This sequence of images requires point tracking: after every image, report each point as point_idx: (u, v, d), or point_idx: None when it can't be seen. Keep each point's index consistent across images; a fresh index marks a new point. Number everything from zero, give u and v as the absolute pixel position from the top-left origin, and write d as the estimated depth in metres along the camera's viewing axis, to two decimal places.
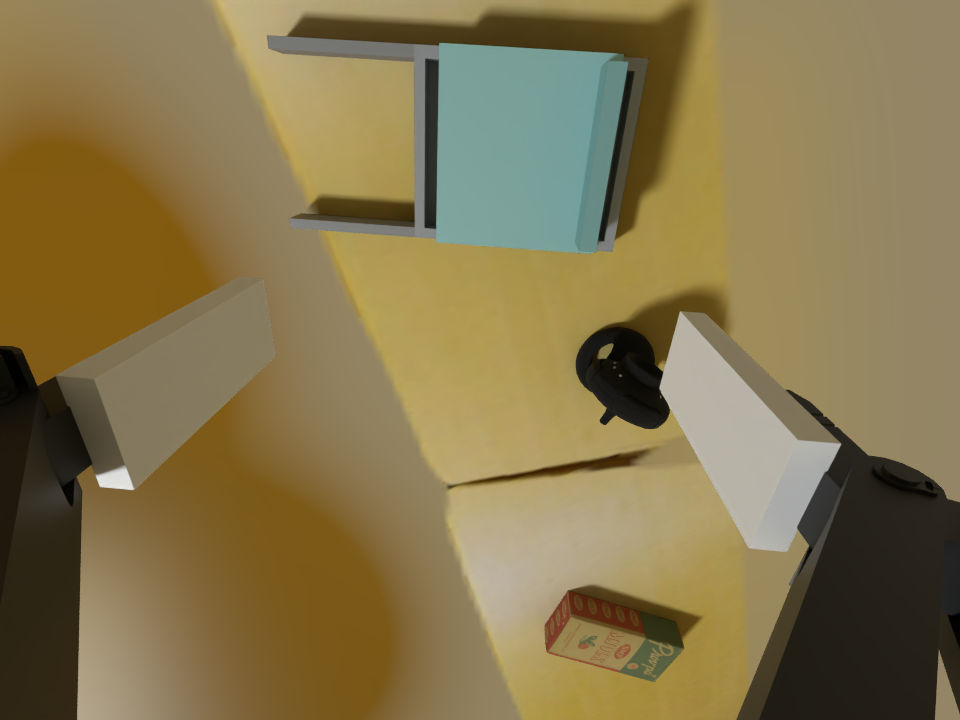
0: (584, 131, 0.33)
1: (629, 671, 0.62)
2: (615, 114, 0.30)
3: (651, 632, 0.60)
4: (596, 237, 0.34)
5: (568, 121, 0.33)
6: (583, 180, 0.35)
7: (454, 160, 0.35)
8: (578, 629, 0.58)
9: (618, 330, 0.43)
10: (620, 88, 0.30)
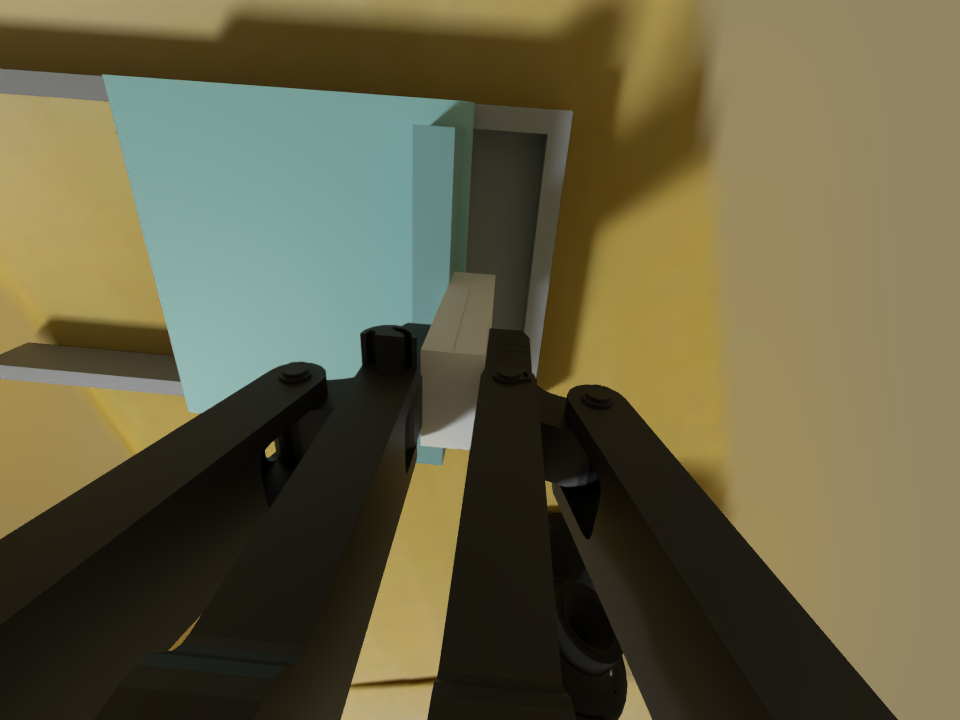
0: None
1: None
2: (442, 233, 0.14)
3: None
4: None
5: (382, 225, 0.17)
6: None
7: (186, 286, 0.19)
8: None
9: (552, 522, 0.27)
10: (445, 182, 0.14)
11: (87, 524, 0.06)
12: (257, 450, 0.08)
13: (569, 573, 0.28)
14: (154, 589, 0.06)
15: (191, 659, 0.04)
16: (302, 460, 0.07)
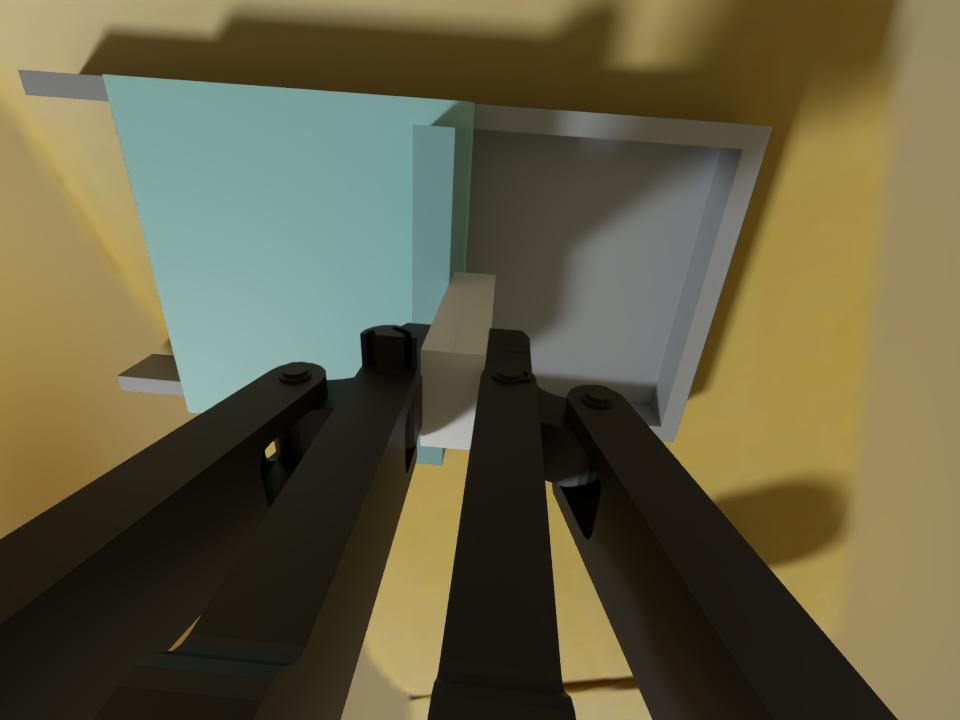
0: None
1: None
2: (442, 233, 0.14)
3: None
4: None
5: (382, 225, 0.17)
6: None
7: (186, 286, 0.19)
8: None
9: None
10: (445, 182, 0.14)
11: (88, 524, 0.06)
12: (257, 450, 0.08)
13: None
14: (154, 589, 0.06)
15: (192, 660, 0.04)
16: (301, 460, 0.07)
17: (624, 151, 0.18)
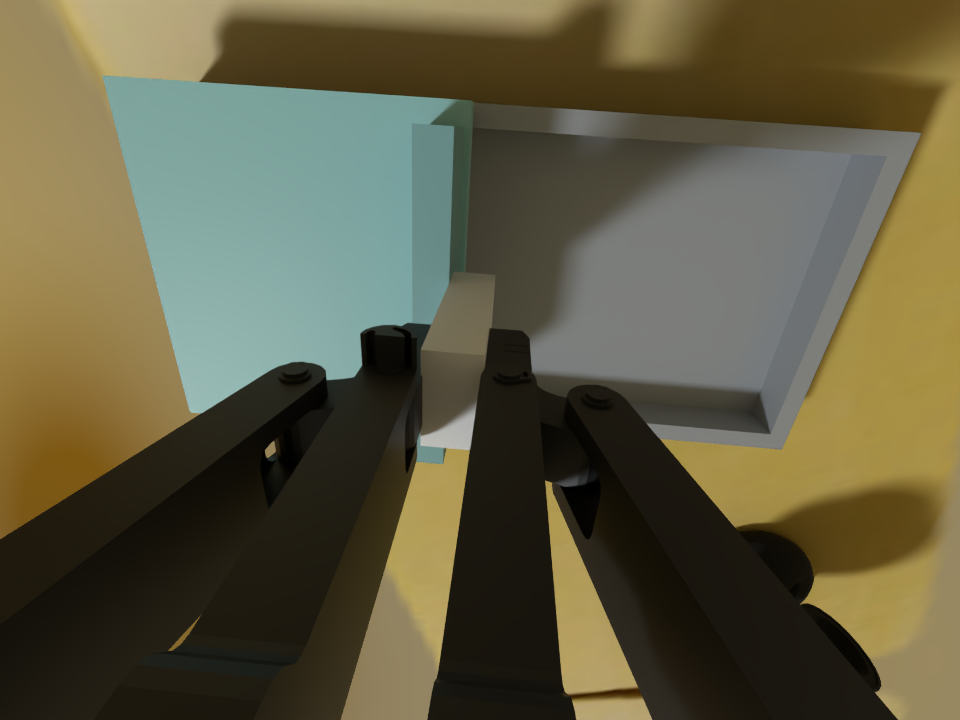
0: None
1: None
2: (442, 231, 0.14)
3: None
4: None
5: (381, 224, 0.17)
6: None
7: (187, 287, 0.19)
8: None
9: (761, 541, 0.27)
10: (445, 180, 0.14)
11: (88, 523, 0.06)
12: (257, 450, 0.08)
13: None
14: (154, 589, 0.06)
15: (192, 659, 0.04)
16: (302, 460, 0.07)
17: (752, 158, 0.18)
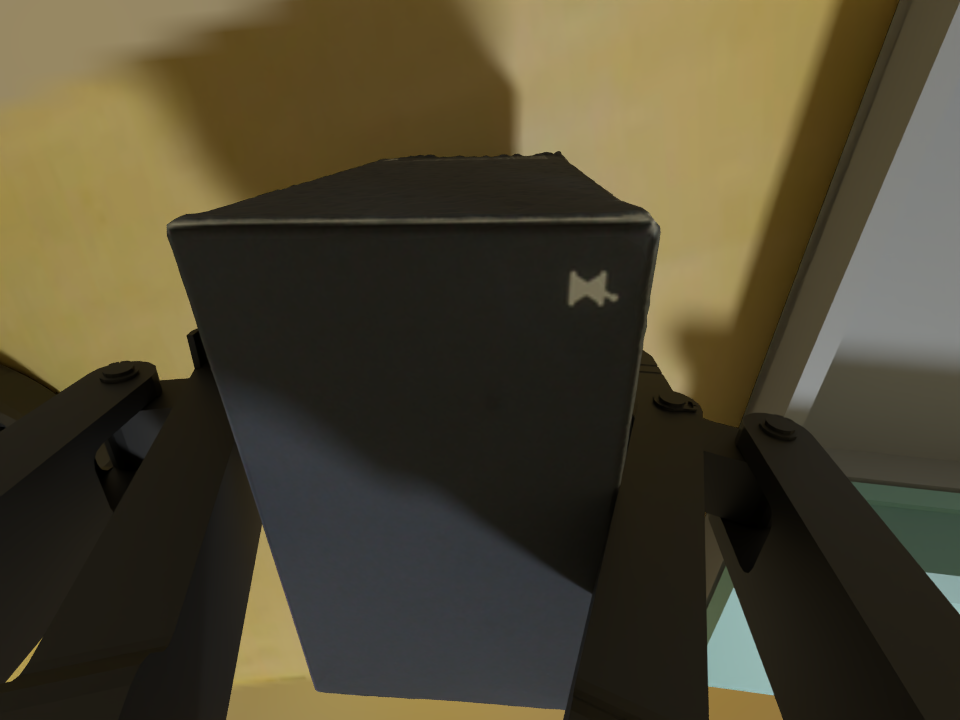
0: None
1: None
2: (940, 580, 0.15)
3: None
4: None
5: None
6: None
7: None
8: None
9: None
10: None
11: None
12: (89, 451, 0.08)
13: None
14: None
15: (36, 678, 0.04)
16: (137, 471, 0.07)
17: None
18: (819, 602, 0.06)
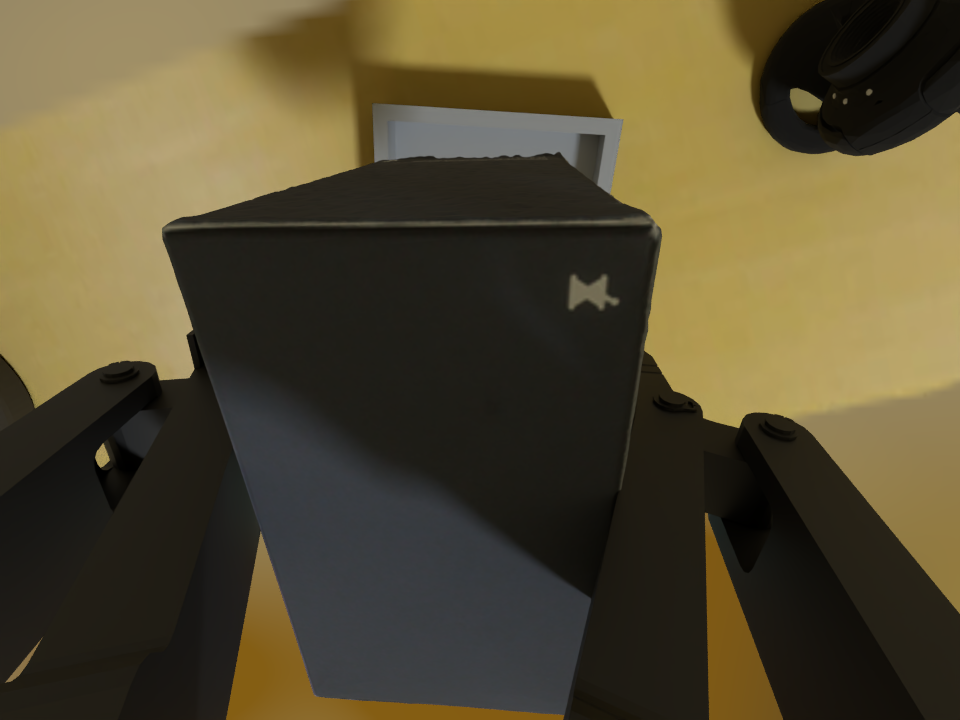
0: None
1: None
2: None
3: None
4: None
5: None
6: None
7: None
8: None
9: (767, 81, 0.25)
10: None
11: None
12: (89, 451, 0.08)
13: None
14: None
15: (37, 678, 0.04)
16: (138, 471, 0.07)
17: None
18: (819, 602, 0.06)
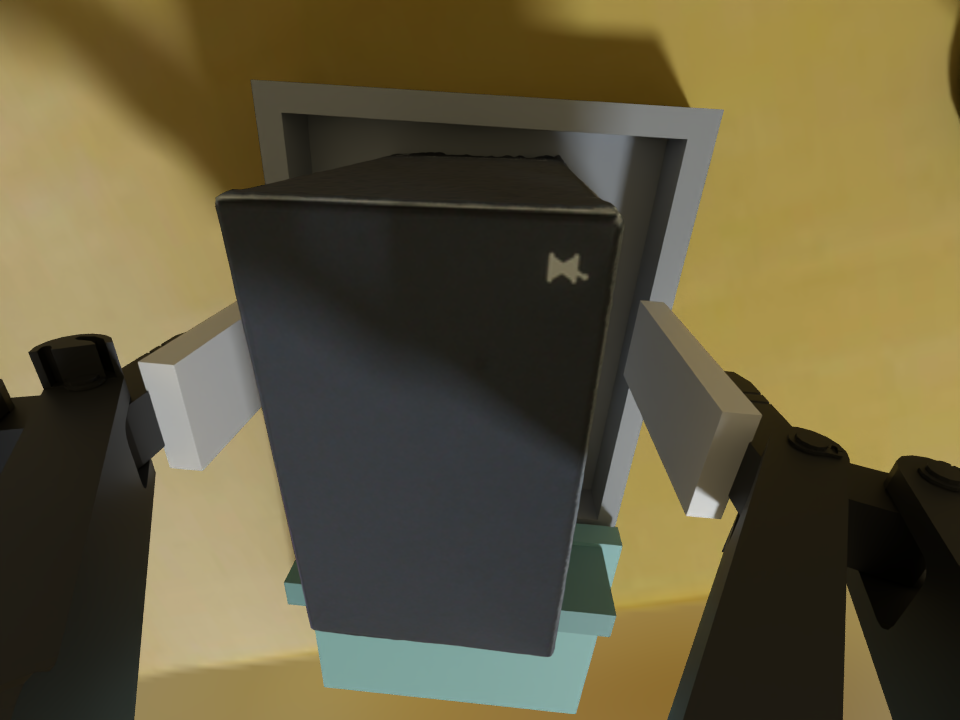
0: None
1: None
2: None
3: None
4: (584, 615, 0.16)
5: None
6: None
7: (460, 687, 0.24)
8: None
9: None
10: None
11: None
12: None
13: None
14: None
15: None
16: None
17: None
18: None
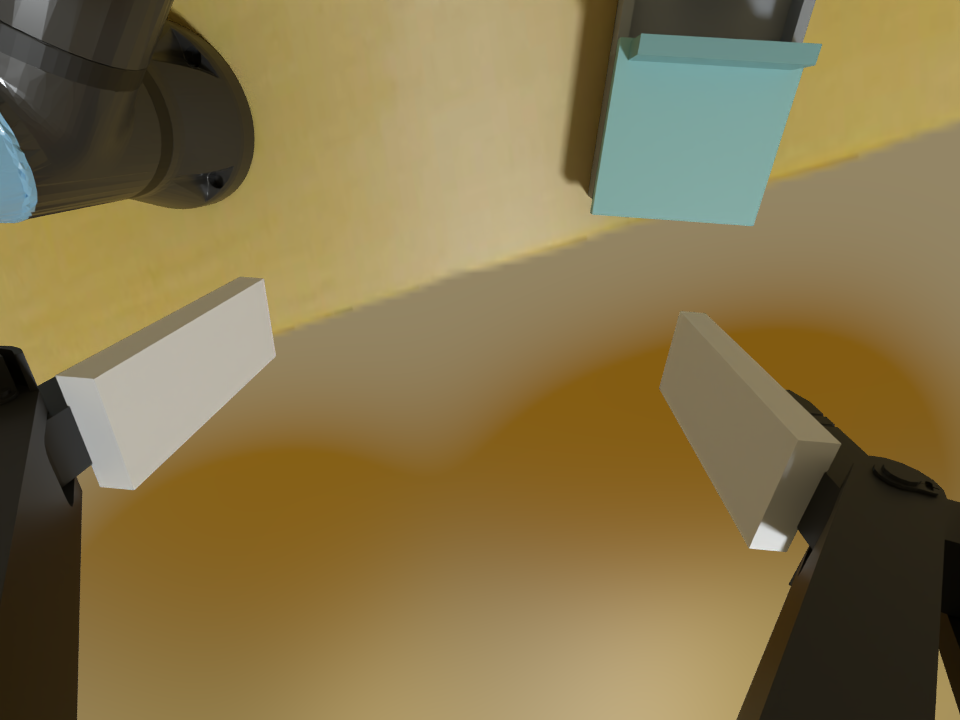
0: (680, 71, 0.35)
1: None
2: (684, 40, 0.31)
3: None
4: (804, 45, 0.31)
5: (669, 90, 0.35)
6: (727, 67, 0.34)
7: (682, 204, 0.39)
8: None
9: None
10: (662, 38, 0.31)
11: None
12: None
13: None
14: None
15: None
16: None
17: None
18: None
